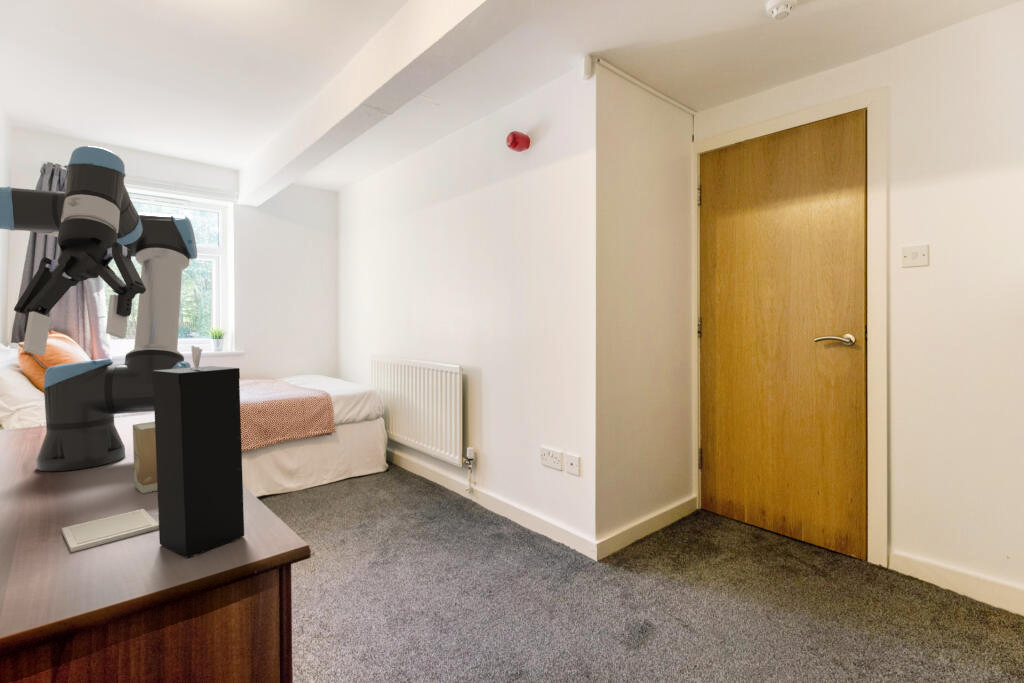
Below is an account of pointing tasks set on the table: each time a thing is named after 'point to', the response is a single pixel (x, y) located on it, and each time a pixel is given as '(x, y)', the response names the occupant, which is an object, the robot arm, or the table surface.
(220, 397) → the tissue box
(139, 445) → the skincare box
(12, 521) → the table surface
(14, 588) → the table surface
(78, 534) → the coaster
